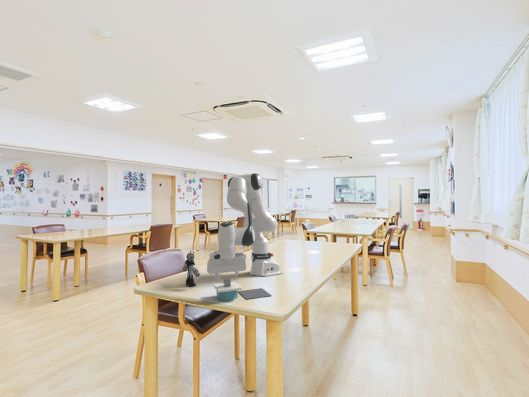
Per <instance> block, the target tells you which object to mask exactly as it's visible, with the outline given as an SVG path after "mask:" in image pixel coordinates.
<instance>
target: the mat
mask: <svg viewBox="0 0 529 397" xmlns="http://www.w3.org/2000/svg"><path fill="white" fill-rule="evenodd" d="M238 293H239V294H240V296H242V297H243V298H244V299H245V300H255V299H260V298H269V297H272V294H271V293H269V292H268V291H266V290H265V289H264V288H263V287H260V288H251V289H245V290H244V289H242V290H238Z"/></svg>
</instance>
